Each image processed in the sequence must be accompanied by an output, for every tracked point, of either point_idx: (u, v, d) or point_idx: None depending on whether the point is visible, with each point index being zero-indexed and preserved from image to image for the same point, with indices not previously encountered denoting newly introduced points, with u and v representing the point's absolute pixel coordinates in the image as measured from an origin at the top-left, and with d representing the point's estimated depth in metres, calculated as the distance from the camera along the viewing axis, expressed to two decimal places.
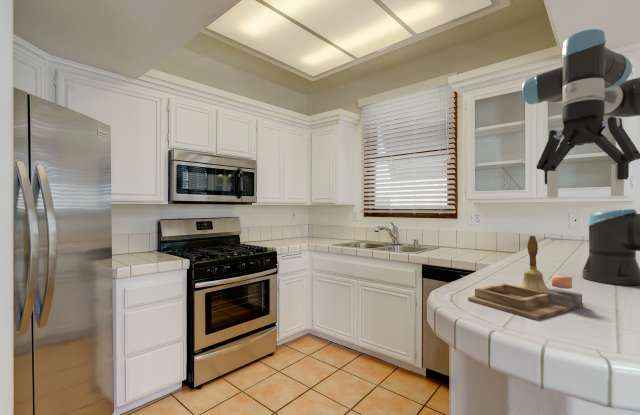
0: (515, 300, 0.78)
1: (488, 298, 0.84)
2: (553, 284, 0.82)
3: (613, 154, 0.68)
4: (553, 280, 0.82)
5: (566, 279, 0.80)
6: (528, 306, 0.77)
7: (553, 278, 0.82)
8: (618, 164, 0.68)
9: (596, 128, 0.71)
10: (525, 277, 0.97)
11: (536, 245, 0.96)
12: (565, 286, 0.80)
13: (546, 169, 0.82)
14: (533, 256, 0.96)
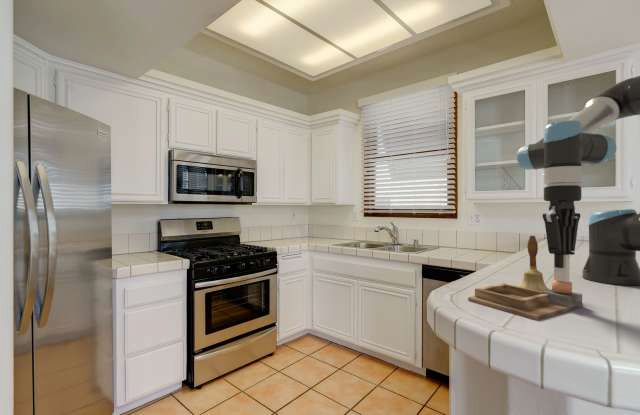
0: (515, 300, 0.78)
1: (488, 298, 0.84)
2: (553, 289, 0.82)
3: None
4: (553, 285, 0.82)
5: (566, 284, 0.80)
6: (528, 306, 0.77)
7: (553, 283, 0.82)
8: None
9: None
10: (525, 277, 0.97)
11: (536, 245, 0.96)
12: (565, 291, 0.80)
13: None
14: (533, 256, 0.96)
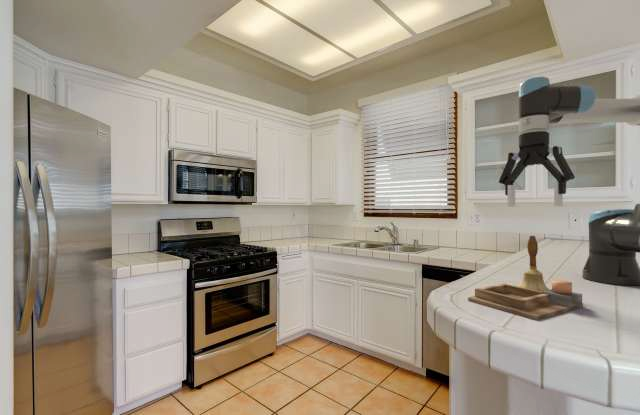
0: (515, 300, 0.78)
1: (488, 298, 0.84)
2: (553, 289, 0.82)
3: (556, 174, 0.90)
4: (553, 285, 0.82)
5: (566, 284, 0.80)
6: (528, 306, 0.77)
7: (553, 283, 0.82)
8: (559, 182, 0.90)
9: (544, 153, 0.93)
10: (525, 277, 0.97)
11: (536, 245, 0.96)
12: (565, 291, 0.80)
13: (506, 183, 1.02)
14: (533, 256, 0.96)
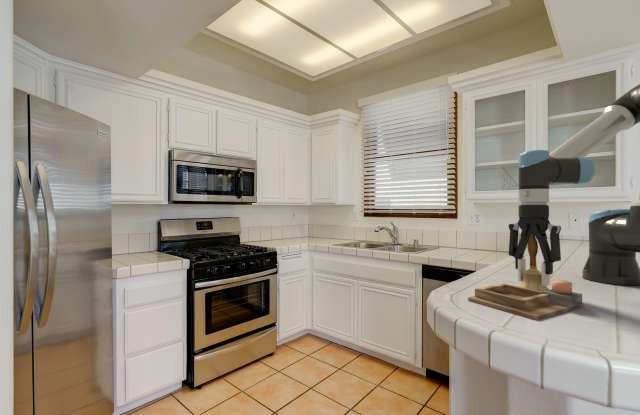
0: (515, 300, 0.78)
1: (488, 298, 0.84)
2: (553, 289, 0.82)
3: (545, 255, 0.93)
4: (553, 285, 0.82)
5: (566, 284, 0.80)
6: (528, 306, 0.77)
7: (553, 283, 0.82)
8: (546, 263, 0.93)
9: (542, 227, 0.93)
10: (525, 277, 0.97)
11: (536, 245, 0.96)
12: (565, 291, 0.80)
13: (517, 257, 1.00)
14: (533, 256, 0.96)
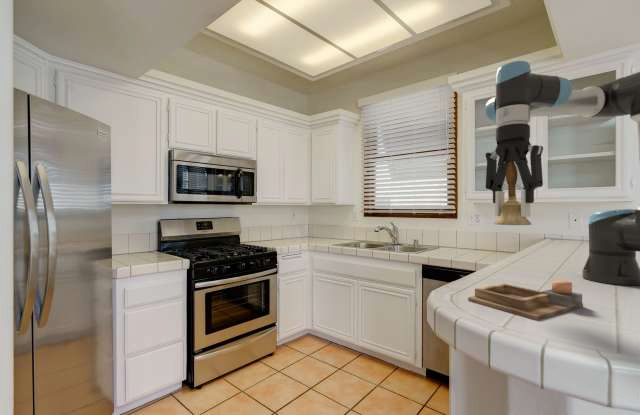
0: (515, 300, 0.78)
1: (488, 298, 0.84)
2: (553, 289, 0.82)
3: (525, 180, 0.80)
4: (553, 285, 0.82)
5: (566, 284, 0.80)
6: (528, 306, 0.77)
7: (553, 283, 0.82)
8: (526, 190, 0.81)
9: (522, 149, 0.81)
10: (503, 209, 0.84)
11: (515, 172, 0.83)
12: (565, 291, 0.80)
13: (494, 189, 0.87)
14: (512, 185, 0.84)
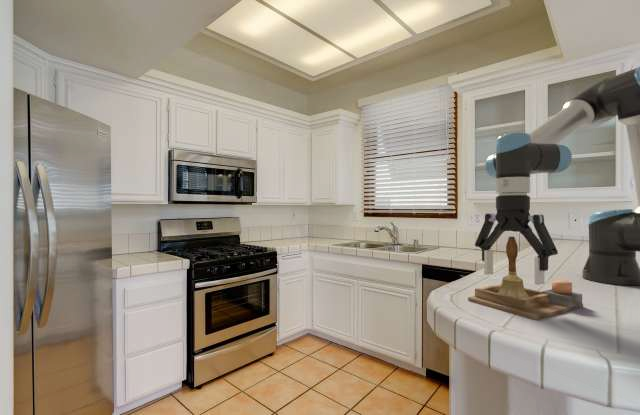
0: (515, 300, 0.78)
1: (488, 298, 0.84)
2: (553, 289, 0.82)
3: (537, 248, 0.78)
4: (553, 285, 0.82)
5: (566, 284, 0.80)
6: (528, 306, 0.77)
7: (553, 283, 0.82)
8: (540, 257, 0.78)
9: (523, 221, 0.81)
10: (503, 284, 0.84)
11: (516, 247, 0.83)
12: (565, 291, 0.80)
13: (483, 248, 0.90)
14: (513, 260, 0.84)
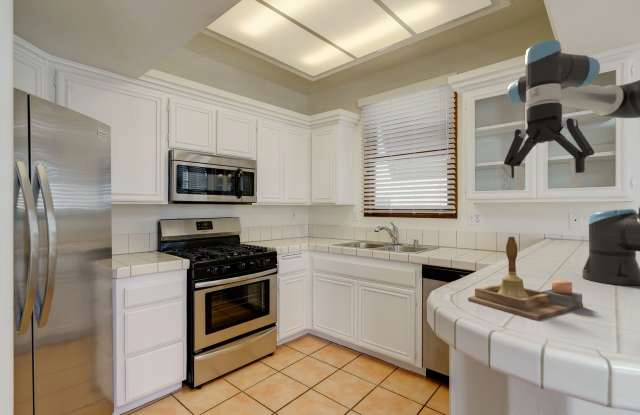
0: (515, 300, 0.78)
1: (488, 298, 0.84)
2: (553, 289, 0.82)
3: (572, 151, 0.78)
4: (553, 285, 0.82)
5: (566, 284, 0.80)
6: (528, 306, 0.77)
7: (553, 283, 0.82)
8: (576, 159, 0.78)
9: (556, 128, 0.81)
10: (503, 284, 0.84)
11: (515, 247, 0.83)
12: (565, 291, 0.80)
13: (513, 164, 0.91)
14: (512, 260, 0.84)
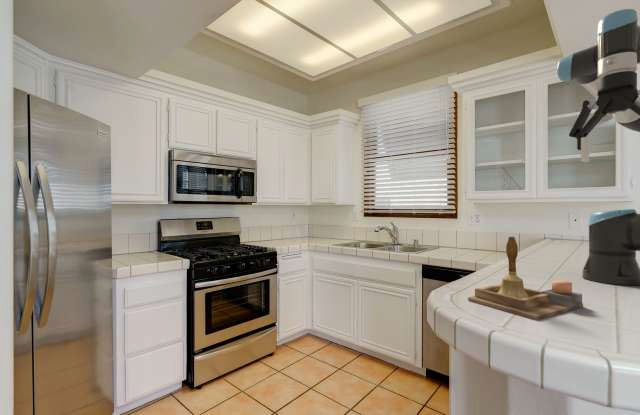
0: (515, 300, 0.78)
1: (488, 298, 0.84)
2: (553, 289, 0.82)
3: None
4: (553, 285, 0.82)
5: (566, 284, 0.80)
6: (528, 306, 0.77)
7: (553, 283, 0.82)
8: None
9: (632, 96, 0.81)
10: (503, 284, 0.84)
11: (516, 247, 0.83)
12: (565, 291, 0.80)
13: (579, 136, 0.90)
14: (512, 260, 0.84)
